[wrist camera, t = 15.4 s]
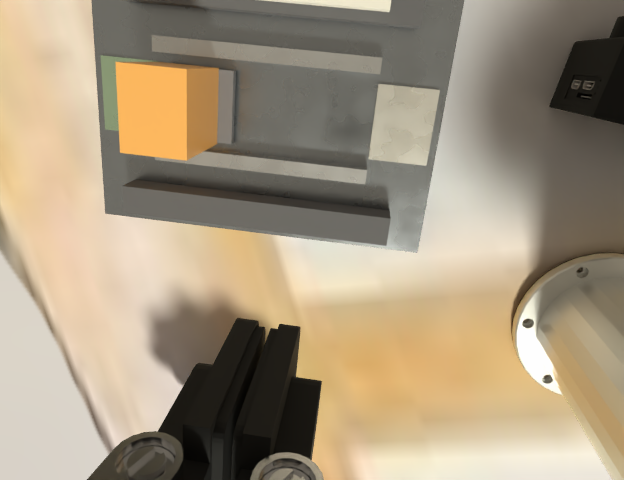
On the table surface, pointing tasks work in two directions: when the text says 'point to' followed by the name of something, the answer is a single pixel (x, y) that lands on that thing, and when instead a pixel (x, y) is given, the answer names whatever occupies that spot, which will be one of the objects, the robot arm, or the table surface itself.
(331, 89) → the panel
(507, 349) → the table surface
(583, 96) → the digital camera
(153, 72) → the toggle
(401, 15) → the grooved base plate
